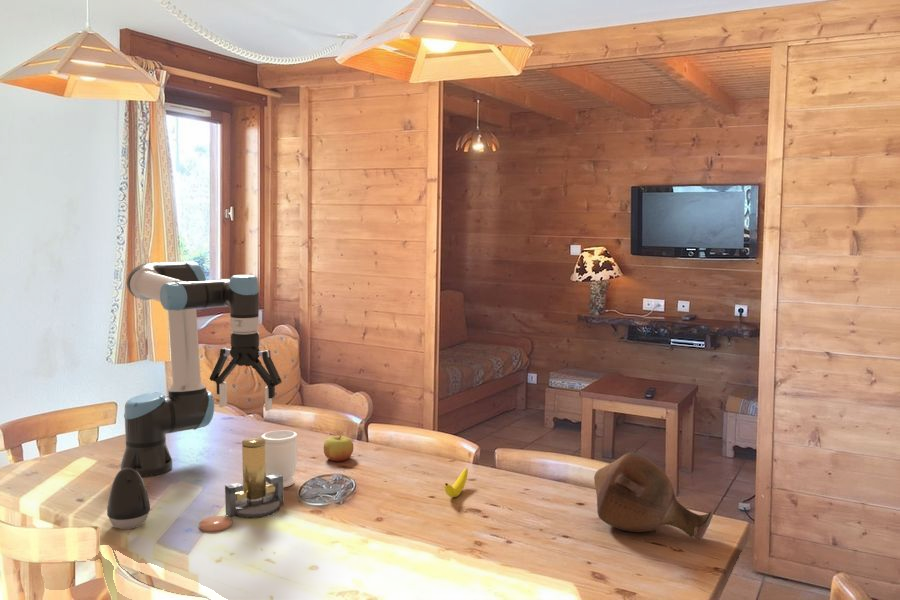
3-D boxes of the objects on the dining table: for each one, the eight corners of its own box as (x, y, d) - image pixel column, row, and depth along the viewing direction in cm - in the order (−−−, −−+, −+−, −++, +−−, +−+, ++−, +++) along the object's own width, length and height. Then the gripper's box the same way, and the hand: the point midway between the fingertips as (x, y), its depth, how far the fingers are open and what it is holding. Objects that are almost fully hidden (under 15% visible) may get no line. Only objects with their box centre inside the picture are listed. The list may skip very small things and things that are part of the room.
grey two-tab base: (217, 509, 212) (217, 480, 211) (269, 496, 222) (269, 468, 221) (239, 523, 202) (238, 493, 201) (292, 509, 212) (291, 480, 211)
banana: (471, 484, 233) (471, 463, 232) (451, 506, 215) (451, 484, 215) (462, 483, 234) (462, 462, 233) (441, 505, 216) (441, 482, 215)
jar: (289, 491, 226) (288, 440, 225) (256, 488, 228) (255, 438, 227) (303, 479, 237) (302, 430, 235) (271, 476, 239) (270, 428, 237)
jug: (575, 528, 201) (690, 576, 186) (583, 463, 193) (704, 507, 178) (606, 490, 217) (715, 532, 202) (615, 429, 209) (728, 467, 194)
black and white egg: (109, 536, 194) (106, 477, 192) (106, 522, 203) (103, 465, 201) (153, 529, 198) (151, 471, 197) (148, 515, 207) (146, 459, 206)
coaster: (194, 524, 201) (194, 521, 201) (223, 517, 206) (223, 513, 206) (206, 534, 195) (206, 530, 195) (236, 526, 200) (236, 522, 200)
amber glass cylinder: (230, 496, 211) (229, 442, 209) (268, 487, 218) (267, 435, 216) (240, 502, 206) (239, 447, 204) (278, 493, 213) (277, 439, 211)
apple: (359, 458, 257) (359, 434, 257) (340, 466, 249) (340, 441, 248) (336, 453, 263) (336, 430, 262) (317, 460, 255) (316, 436, 254)
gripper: (196, 331, 212) (197, 407, 215) (281, 336, 207) (282, 414, 209) (210, 327, 219) (211, 401, 222) (293, 332, 214) (293, 407, 217)
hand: (245, 407), depth 216 cm, fingers open, 13 cm apart
